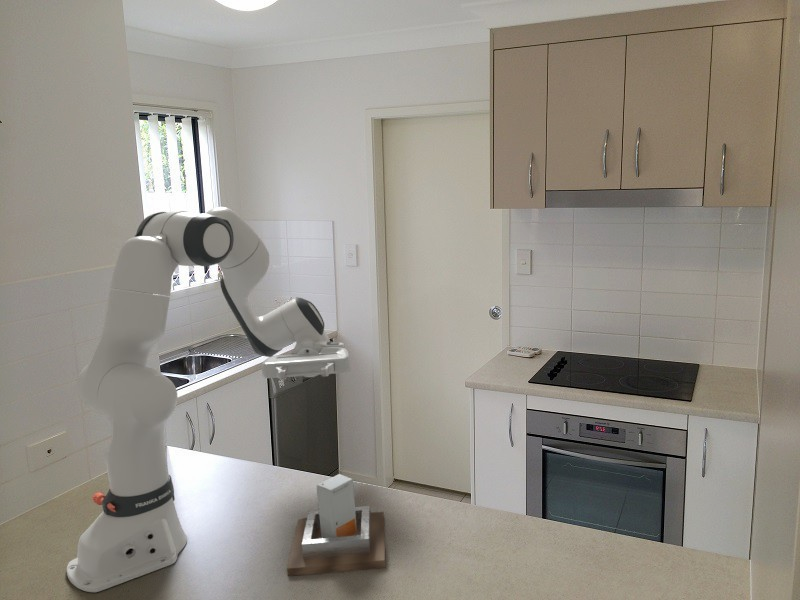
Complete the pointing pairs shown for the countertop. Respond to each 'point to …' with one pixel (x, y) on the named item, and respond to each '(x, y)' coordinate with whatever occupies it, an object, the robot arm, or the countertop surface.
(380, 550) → the socket board
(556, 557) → the countertop surface
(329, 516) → the skincare box
